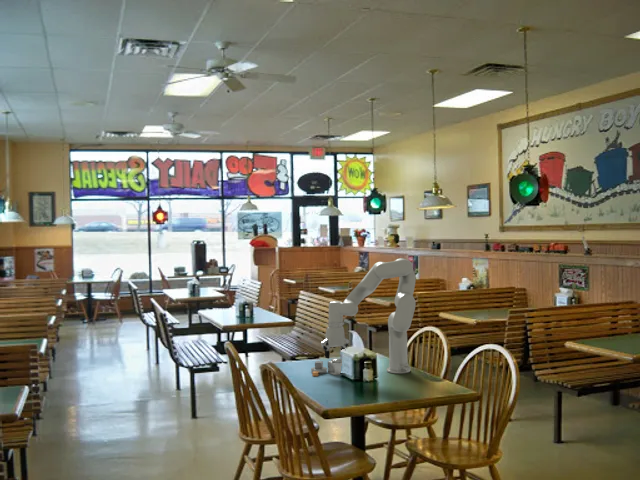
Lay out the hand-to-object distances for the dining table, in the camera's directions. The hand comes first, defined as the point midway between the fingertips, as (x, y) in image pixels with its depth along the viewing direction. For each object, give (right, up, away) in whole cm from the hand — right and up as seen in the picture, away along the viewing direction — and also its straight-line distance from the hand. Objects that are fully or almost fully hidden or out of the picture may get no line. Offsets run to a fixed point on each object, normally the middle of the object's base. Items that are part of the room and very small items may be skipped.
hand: (335, 357), depth 330 cm
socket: (+1, -8, 0) cm, 8 cm away
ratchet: (-9, -9, +1) cm, 12 cm away
